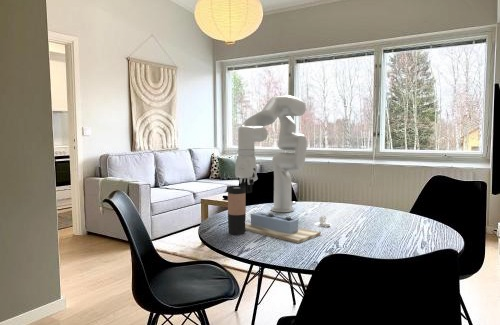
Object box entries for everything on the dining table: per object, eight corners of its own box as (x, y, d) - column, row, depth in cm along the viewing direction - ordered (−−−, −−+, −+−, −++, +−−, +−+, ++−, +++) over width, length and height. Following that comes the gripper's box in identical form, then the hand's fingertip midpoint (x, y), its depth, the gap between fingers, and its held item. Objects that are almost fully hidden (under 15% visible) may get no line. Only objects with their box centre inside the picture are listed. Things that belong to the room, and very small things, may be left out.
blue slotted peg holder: (259, 222, 179) (259, 211, 178) (298, 231, 164) (298, 219, 163) (250, 224, 174) (250, 213, 174) (289, 233, 159) (289, 222, 159)
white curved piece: (331, 228, 174) (331, 219, 174) (313, 227, 176) (313, 218, 176) (331, 223, 183) (331, 215, 183) (314, 222, 185) (314, 214, 184)
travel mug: (224, 232, 165) (224, 186, 163) (238, 229, 170) (238, 185, 168) (235, 236, 159) (235, 188, 158) (249, 233, 164) (249, 187, 163)
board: (263, 222, 184) (263, 207, 183) (320, 234, 162) (320, 218, 161) (239, 228, 172) (239, 212, 171) (298, 243, 150) (298, 225, 150)
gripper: (228, 152, 180) (228, 191, 182) (254, 154, 169) (254, 195, 170) (239, 152, 185) (239, 189, 187) (265, 153, 174) (265, 193, 176)
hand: (246, 192), depth 179 cm, fingers open, 3 cm apart
